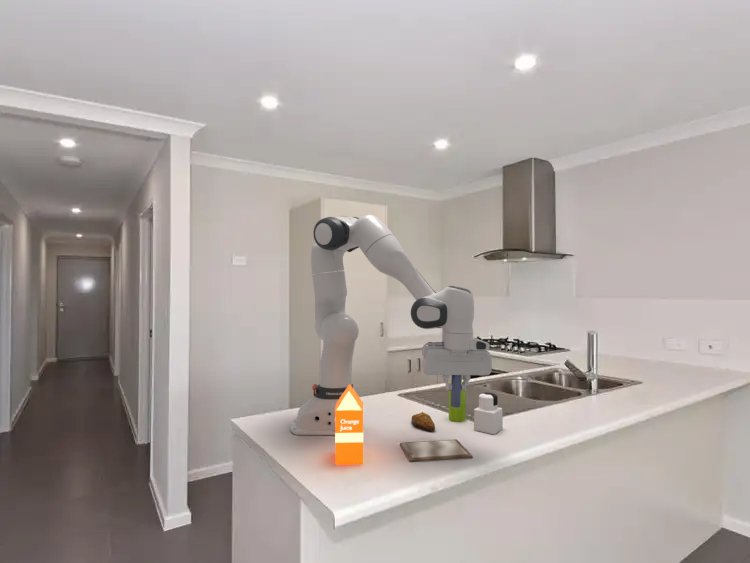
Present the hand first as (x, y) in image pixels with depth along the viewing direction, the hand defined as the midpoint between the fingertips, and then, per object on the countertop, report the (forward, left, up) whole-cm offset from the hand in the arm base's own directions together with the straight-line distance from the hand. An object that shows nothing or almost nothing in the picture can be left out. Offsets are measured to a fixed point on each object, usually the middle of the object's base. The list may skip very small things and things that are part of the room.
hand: (455, 390), depth 126 cm
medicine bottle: (+17, +17, -18) cm, 30 cm away
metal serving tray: (-6, +2, -18) cm, 19 cm away
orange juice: (-31, +1, -18) cm, 36 cm away
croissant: (-3, +24, -18) cm, 30 cm away
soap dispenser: (+11, +29, -18) cm, 36 cm away
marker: (0, 0, -5) cm, 5 cm away
